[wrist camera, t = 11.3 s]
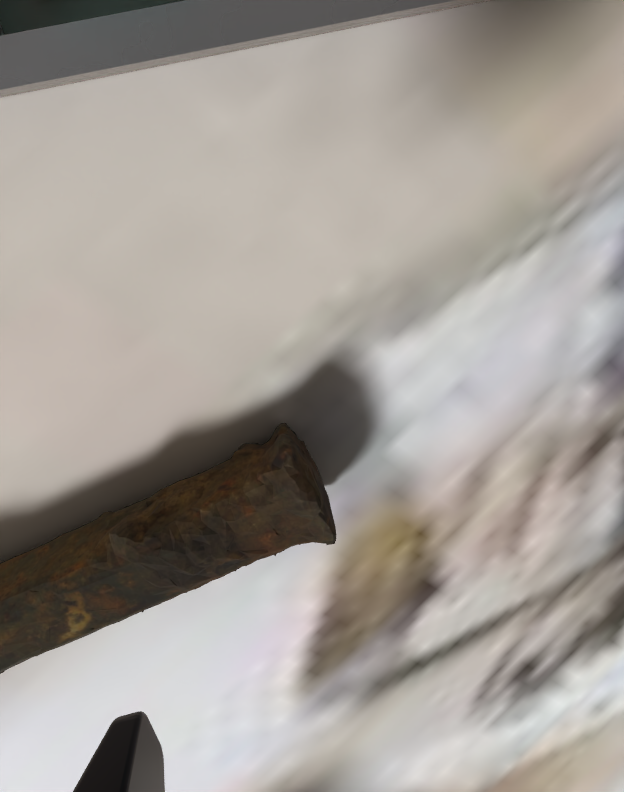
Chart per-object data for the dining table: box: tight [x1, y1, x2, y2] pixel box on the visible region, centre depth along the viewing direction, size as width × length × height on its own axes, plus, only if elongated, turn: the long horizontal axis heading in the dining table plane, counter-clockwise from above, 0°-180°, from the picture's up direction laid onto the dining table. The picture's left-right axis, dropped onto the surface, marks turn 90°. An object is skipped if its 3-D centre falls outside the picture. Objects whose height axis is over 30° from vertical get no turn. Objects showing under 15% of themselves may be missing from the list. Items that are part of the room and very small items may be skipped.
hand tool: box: [0, 423, 336, 674], centre depth 19 cm, size 19×4×5 cm, turn 110°
